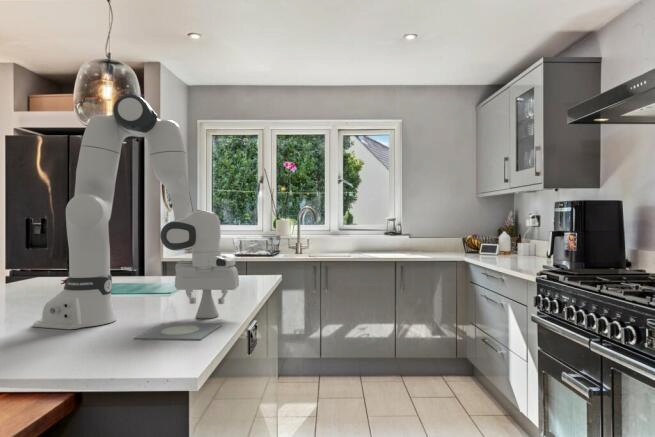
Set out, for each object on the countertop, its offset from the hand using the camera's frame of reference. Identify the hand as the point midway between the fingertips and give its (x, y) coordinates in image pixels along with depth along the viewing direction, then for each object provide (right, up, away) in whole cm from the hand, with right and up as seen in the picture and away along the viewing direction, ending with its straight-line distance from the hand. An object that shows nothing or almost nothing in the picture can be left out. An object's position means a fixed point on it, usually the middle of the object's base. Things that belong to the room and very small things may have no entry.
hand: (207, 303), depth 144 cm
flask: (0, -4, 0) cm, 4 cm away
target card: (-2, -4, -20) cm, 20 cm away
